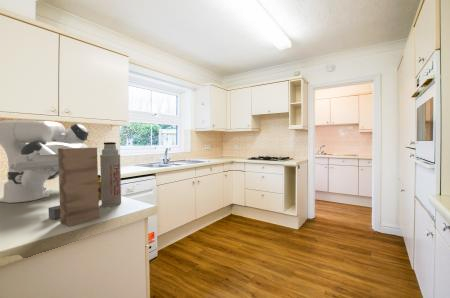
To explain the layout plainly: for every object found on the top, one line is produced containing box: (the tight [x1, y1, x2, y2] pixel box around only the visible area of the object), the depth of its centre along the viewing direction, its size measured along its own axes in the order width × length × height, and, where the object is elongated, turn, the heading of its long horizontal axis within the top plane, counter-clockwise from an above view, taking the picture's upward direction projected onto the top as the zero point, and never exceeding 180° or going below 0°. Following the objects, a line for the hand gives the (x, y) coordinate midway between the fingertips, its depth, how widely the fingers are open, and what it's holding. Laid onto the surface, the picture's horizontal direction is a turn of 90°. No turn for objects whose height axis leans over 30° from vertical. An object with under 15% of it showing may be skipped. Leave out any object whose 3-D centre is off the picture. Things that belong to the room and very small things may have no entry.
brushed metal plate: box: [47, 204, 60, 222], centre depth 85 cm, size 13×10×5 cm
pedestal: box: [58, 147, 100, 227], centre depth 79 cm, size 6×10×26 cm, turn 147°
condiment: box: [98, 174, 101, 200], centre depth 107 cm, size 7×8×12 cm
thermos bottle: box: [99, 141, 122, 207], centre depth 100 cm, size 8×8×28 cm
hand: (52, 151), depth 89 cm, fingers open, 8 cm apart
